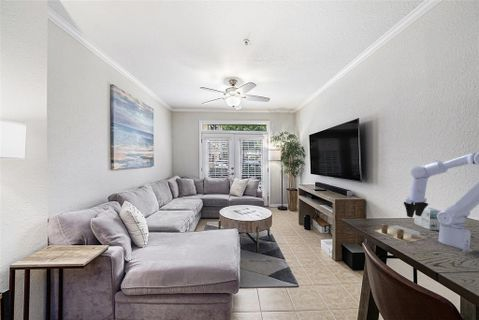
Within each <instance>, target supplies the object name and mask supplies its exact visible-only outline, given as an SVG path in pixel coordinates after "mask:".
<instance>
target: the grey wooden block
mask: <svg viewBox="0 0 479 320" xmlns="http://www.w3.org/2000/svg"><path fill="white" fill-rule="evenodd" d="M388 228H389V231H392V232H395V233H397V229H402V230H404V236H407V237H410V238H414V237H418V236H421V235H420V234H421V232H420V231H417V230H413V229H412V228H411V229H410V228H407V227H405V226H404V227H403V226H401V225H397V224H396V225H390V226H388Z"/></svg>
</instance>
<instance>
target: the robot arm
mask: <svg viewBox="0 0 479 320" xmlns="http://www.w3.org/2000/svg"><path fill="white" fill-rule="evenodd" d="M466 165H476V166H477V167H478V168H479V151H478V152H476V151H475V152H471V153H468V154H465V155H462V156H459V157H455V158H453V159H450V160H446V161H442V160H433V161H432V162H430V163H428V164H426V163H424V164H422V166H418V165H415V166H414V167H412V168H411V170H410V174H411V177H412V178H411V179H412V180H411V188H410V192H409V196H407V197H406V199H405V201H403V205H404V207H405V212H406V216H407V218H410V219H411V218H414V216H415V215H417V216H421V215H422V213H423V211H424V209H425V208H426V207H428V206H429V203H427V198H425V197H426V190H427V184H428V180H429V178H430V177H432V176H433V177H434V176H437V175H441V174H445V173H447V172H448V170H449V169H453V168H458V167H461V166H466ZM478 205H479V181H478V182H476V184H475V185H473V186H472V187H471V188H470V189H469V190H468V191H467V192H466V193H465V194H464V195H463V196H462V197H461V198H459V199H458V201H456V202H455V203H454V204H452V205H450V206H448V207H447V208H446V209H444V210H440V212H439V213H438V214H437V219H438V221H439V222H440V230H438V231H439V232H438V233H439V234H438V242H439V243H441V244H444V245H447V246H451V247H454V248H457V249H461V250H459V252H465V251H467V250H470V249H471V238H472V235H471V231H470V230H469V229H466V228H464V226H463V225H464V224H466V222H467V220H468V217H469V216H470V215H471V211H472V210H474V209H475V207H477V206H478Z"/></svg>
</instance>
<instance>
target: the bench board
mask: <svg viewBox="0 0 479 320" xmlns="http://www.w3.org/2000/svg"><path fill="white" fill-rule="evenodd" d="M373 232H377V233H379V234H382V235H384V236H388V237H391V238H394V239H397V240H398V241H401V242H405V243H412V242H416V241H420V240H425V239H427V236H426V237H425V236H422V235H420V236H418V237H414V238H410V237H407V236H404V230H402V229H397V233H395V232H392V231H389V226H388V224H386V223H385V224H384V223H382V224H381V228H380V229H375V230H373Z"/></svg>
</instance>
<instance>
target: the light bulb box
mask: <svg viewBox="0 0 479 320" xmlns="http://www.w3.org/2000/svg"><path fill="white" fill-rule="evenodd" d="M440 211H441V210H440V209H437V208H433V207H428V206H427V207H426V208H425V209H424V211H423V213H422V215H421V216H417V215H415V214H414V221H413V224H414V223H415V225H417V226H419V227H422V228H424V229H427V230H430V231H431V230H432V231H433V230H434V231H439V230H440V222H439V221H438V219H437V214H438V213H439V212H440Z"/></svg>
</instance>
